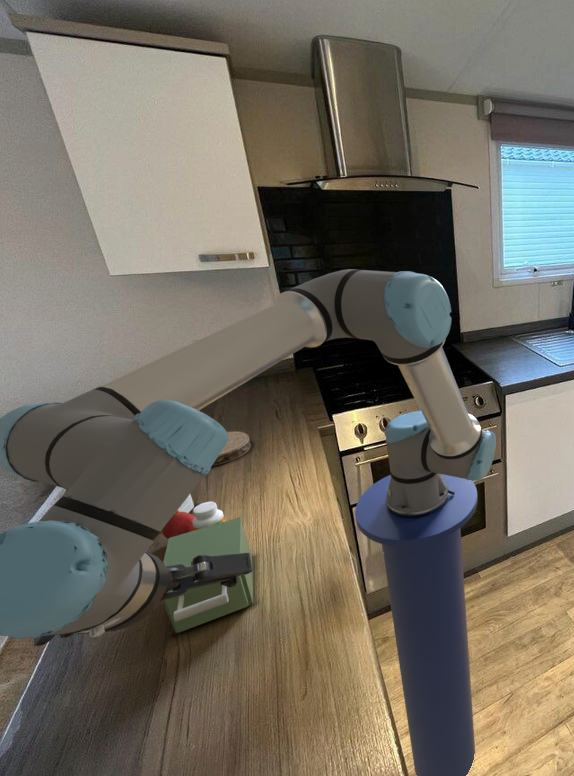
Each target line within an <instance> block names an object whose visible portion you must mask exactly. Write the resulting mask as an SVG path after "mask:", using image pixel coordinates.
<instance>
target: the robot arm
mask: <svg viewBox="0 0 574 776" xmlns="http://www.w3.org/2000/svg"><path fill="white" fill-rule="evenodd" d="M451 313H452V307H451V303H450V299H449V296H448V294H447V292H446V290H445V288H444V287H443V285H442V284H441V283H440V282H439V281H438V280H437V279H435V278H434V277H433V276H430V275H428V274H424V273H417V272H414V271H409V270H408V271H407V270H403V271H397V272H396V271H383V270H382V271H381V270H366V269H359V268H358V269H357V268H356V269H355V268H353V269H352V268H348V269H341V270H338V271H337V270H336V271H334V272H329V273H327V274H324V275H321V276H319V277H315V278H313V279H310V280H308V281H306V282H303V283H301V284H299V285H295V286H294V287H292V288H290V289H287V290H285V291H282V292H281V293H279V294H278V295H277V296H276V297H275V299H274V301H273V304H272V305H269V306H268V307H265V308H264V309H261V310H259V311H257V312H255V313H253V314H250V315H249V316H246V317H244V318H242V319H240V320H238V321H236V322H233V323H232V324H229V325H226V326H225V327H223V328H221V329H219V330H216V331H214V332H212V333H210V334H208V335H206V336H204V337H201V338H199V339H197V340H196V341H195V340H194V341H193V342H191V343H189V344H187V345H185V346H183V347H181V348H178V349H176V350H174V351H172V352H170V353H168V354H166V355H163V356H161V357H159V358H157V359H155V360H153V361H151V362H149V363H147V364H144V365H142V366H140V367H137V368H136V369H134V370H132V371H129V372H127V373H125V374H123V375H121V376H119V377H117V378H115V379H113V380H110V381H108V382H106V383H104V384H102V385H100V386H97V387H96V388H92V389H91V390H89V391H87V392H84V393H82V394H79V395H78V396H75V397H73V398H71V399H69V400H67V401H64V402H57V401H52V402H47V401H46V402H36V403H29V404H24V405H22V406H19V407H16V408H14V409H12V410H10V411H9V412H6V413H5V414H4V415H3V416H1V417H0V467H1V468H2V469H4V470H5V471H8V472H10V473H12V474H14V475H15V476H19V477H21V478H22V479H24V480H26V481H30V482H33V483H34V482H35V483H43V484H47V485H51V486H55V487H58V488H62V489H64V490H66V491H65V492H64V493H63V494H62V496H61V497H60V498H59V499H58V500H57V501H56V502H55V503H54V504H53V505H52V506H51V507H50V508H49V509H48V510H47V512H46V513H44V515H43V516H42V517H41V518H39V520H38V521H33V522H28V523H22V524H19V525H17V526H13V527H11V528H8V529H6V530H5V531H3V532H1V533H0V637H8V638H12V639H15V640H26V639H28V638H30V639H33V647H42V646H44V645H46V644H47V643H50V642H51V641H52V640H53V639H54V638H55V637H56V636H57V635H59V639H60V638H61V639H63V638H69V637H71V636H73V635H75V634H77V635H86V634H89V638H92V639H94V638H99V637H101V636H103V635H104V634H105V633H111V632H116V631H121V630H123V629H127V628H129V627H131V626H133V625H135V624H136V623H139V622H140V621H142V620H143V619H145V618H146V617H147V616H148V615H150V613H151V612H152V611H153V610H154V609H156V607H157V606H158V604H159V603H160V602H163V600H166V599H170V598H174V597H177V596H179V595H181V594H183V593H185V592H186V591H187V590H189V589H193V588H198V587H202V586H206V585H211V584H215V583H219V582H221V585H224V586H227V587H233V586H236V584H237V583H238V579H237V577H238V576H240V575H243V574H245V575H246V574H249V573H250V572H252V569H253V564H252V565H251V558H250V553H240V554H229V555H218V556H207V555H199V556H196V557H195V558H193V561H191V566H190V567H185V566H184V565H183V564H177V565H171V566H165V564H164V563H163V561H162V560H161V559H160V558H159V557H158V556H156V555H154V554H152V553H150V552H147V551H148V550H149V548H151V546H152V545H153V544H154V542H155V540H156V538H157V537H158V536H159V535H160V534H161V533H160V532H162V529H163V528H164V526H165V525H166V524H167V523H168V521H169V520H170V519H171V518H172V516H173V515H174V514H175V513H176V511H177V510H178V509H179V507H180V506H181V505H182V504H183V502H184V501H185V500H186V499H187V497H188V496H189V495H190V494H191V495H192V492H193V491H194V490H195V489H196V487H197V486H198V485H199V484H200V482H201V481H202V480H203V478H205V476H206V475H208V474H209V473H210V472H211V468H212V467H213V466H212V465H213V463H214V462H215V460H216V459H217V457H218V456H219V454H220V453H221V451H222V450H223V448H224V447H225V445H226V444H227V442H228V434H227V432H228V431H227V430H226V429H225V428H224V426H223V425H221V423H219V422H218V421H217V420H215V419H214V418H212V417H211V416H209V415H208V414H206V413H204V412H202V411H201V410H203V409H204V408H206V407H207V406H208V405H210V404H212V403H213V402H215V401H217V400H219V399H220V398H222V397H224V396H226V395H227V394H228V393H230V392H232V391H234V390H235V389H237V388H238V387H241V386H242V385H243V384H246V383H247V382H249V381H250V380H252V379H254V378H255V377H257V376H259V375H260V374H262V373H263V372H265V371H267V370H269V369H270V368H272V367H274V366H275V365H277V364H278V363H280V362H282V361H283V360H285V359H286V358H289V357H290V356H291V355H293V354H296V353H297V352H298V351H300V350H302V349H303V348H305V347H306V348H317V347H320V346H321V345H322V344H324V343H326V342H328V341H330V340H336V339H345V338H347V339H348V338H349V339H356V340H357V339H358V340H367V341H372V342H374V343H375V344H376V346H377V348H378V350H379V352H380V353H381V355H382V357H383V358H384V360H385V361H387V363H390V364H392V365H396V366H397V367H398V369H399V370H400V373H401V375H402V377H403V378H404V380H405V382H406V384H407V386H408V388H409V391H410V393H411V394H412V396H413V398H414V400H415V402H416V404H417V406H418V408H419V410H416V411H410V412H407V413H403V414H400V415H397V416H396V417H394V418H393V419H391V420H390V421H389V422H388V423H387V425H386V426H385V437H386V438H385V444H386V451H387V457H388V464H389V471H390V475H391V480H390V484H389V487H387V491H388V492H387V496H386V502H387V508H388V510H389V511H390V512H391V513H392V514H394V515H396V516H398V517H402V518H419V517H424V516H427V515H430V514H432V513H434V512H436V511H438V510H439V509H441V508H442V507H443V506H444V505H445V503H446V502H447V500H448V493H450V494H452V495H454V493H455V492H452V491H450V490H448V486H447V484H446V482H445V480H444V478H443V476H442V474H443V475H448V476H453V477H458V478H463V479H466V480H472V481H474V482H475V481H476V482H479V481H483V480H484V478H486V476H487V475H488V473H489V471H490V469H491V466H492V464H493V461H494V458H495V453H496V448H497V447H496V446H497V438H496V434H495V433H494V432H493V431H490V430H488V429H487V430H483V429H482V426H481V424H480V422H479V420H478V419H477V418H476V417H475V416H473V415H472V414H470V413H469V412H468V410H467V407H466V404H465V402H464V400H463V397H462V393H461V392H460V389H459V386H458V384H457V382H456V378H455V376H454V374H453V371H452V369H451V366H450V363H449V361H448V358H447V355H446V352H445V351H444V348H443V346H444V344H445V342H446V338H447V337H448V335H449V333H450V331H451V326H452V317H451V315H450V314H451ZM170 590H172V592H168V591H170ZM167 592H168V593H167Z"/></svg>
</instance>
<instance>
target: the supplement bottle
mask: <svg viewBox="0 0 574 776" xmlns="http://www.w3.org/2000/svg"><path fill="white" fill-rule="evenodd" d="M192 512H193V516H194V517H195V518H194V519H193V527H194V530H198V529H202V528H205V527H209V526H212V525H215V524H219V523H222V522H226V521H227V520H226V518H225V515H224V512H223V511H222V510H221V509H218V506H217V503H216V502H215V501H206V502H202V503H200V504H198V505H196V506H194V508H193V509H192Z"/></svg>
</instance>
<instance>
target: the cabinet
mask: <svg viewBox="0 0 574 776" xmlns="http://www.w3.org/2000/svg"><path fill="white" fill-rule="evenodd" d="M225 521H226V522H222V523H219V524H215V525H212V526H209V527H205V528H202V529H198V530H195V531H191V532H188V533H184V534H181V535H178V536H174V537H171V538H169V539H167V544H166V549H165V551H164V558H163V561H162V562H163V563H164V564H165V566H171V565H177V564H183V565H184V566H185V567H190V566H191V561H193V558H195V557H196V556H199V555H207V556H218V555H229V554H240V553H250V558H251V565H252V566H253V556H252V552H251V551H252V550H251V548H250V543H249V540H248V537H247V534H246V530H245V527H244V522H243V519H242V517H241V516H240V517H237V518H233V519H230V520H225ZM253 570H254V569H253V568H252V572H250V573H249V574H246V575H245V574H243V575H241V579H242V582H243V585H244V589H245V592H246V596H247V599H248V606H251V605H253V604H254V579H253V577H254V576H253V575H254V573H253ZM162 603H163V605H164V608H165V611H166V613H167V615H168V618H169V621H170V624H171V626H172V629H173V631H174V633H175V634H178V633H177V631H176V629H175V626H174V623H173V621H172V618H171V616H170V613H169V610H168V608H167V605H166V603H165V600H162Z"/></svg>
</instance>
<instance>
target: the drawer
mask: <svg viewBox="0 0 574 776" xmlns="http://www.w3.org/2000/svg"><path fill="white" fill-rule="evenodd" d="M237 579H238V583H237V584H236V586H233V587H227V586H224V585H221V582H219V583H215V584H211V585H206V586H202V587H198V588H193V589H189V590H187V591H186V592H185V593H183V594H181V595H179V596H177V597H174V598H170V599H166V600H165V603H166V605H167V608H168V610H169V613H170V616H171V618H172V621H173V623H174V626H175V629H176V631H177V633H176V634H180V633H181V632H184V631H187V630H190V629H192V628H195V627H197V626H200V625H203V624H206V623H208V622H211V621H213V620H216V619H218V618H221V617H224V616H226V615H229V614H231V613H235V612H237V611H240V610H242V609H245V608H248V607H249V605H248V599H247V596H246V592H245V589H244V585H243V582H242V579H241V575H240V576H238V577H237ZM168 592H172V590H170V591H168ZM168 592H167V593H168Z"/></svg>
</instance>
